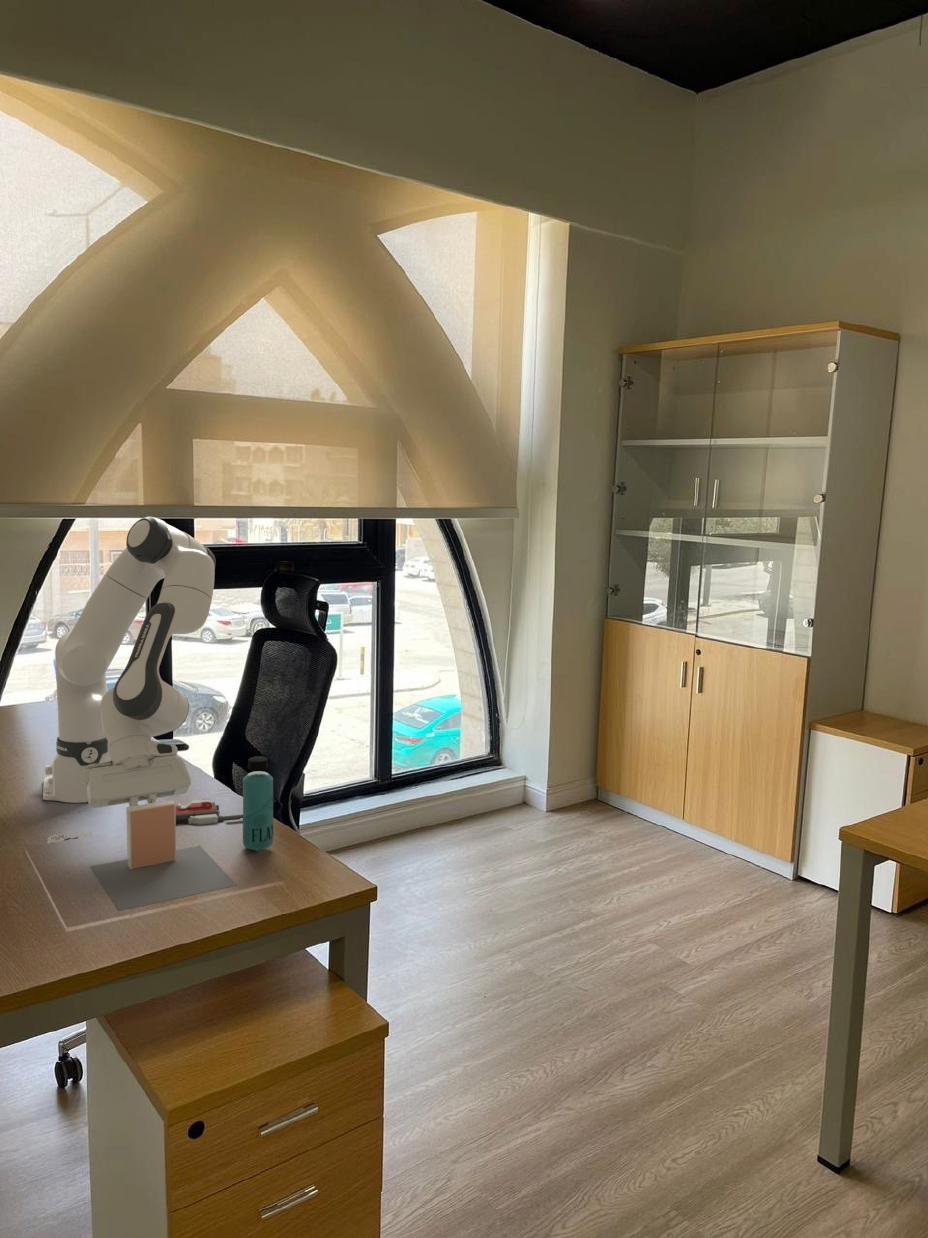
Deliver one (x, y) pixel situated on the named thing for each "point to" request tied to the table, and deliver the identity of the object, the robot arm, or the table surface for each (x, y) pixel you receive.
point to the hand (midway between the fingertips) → (147, 818)
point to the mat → (161, 879)
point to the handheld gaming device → (68, 836)
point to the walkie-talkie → (201, 813)
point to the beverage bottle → (258, 805)
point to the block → (151, 834)
